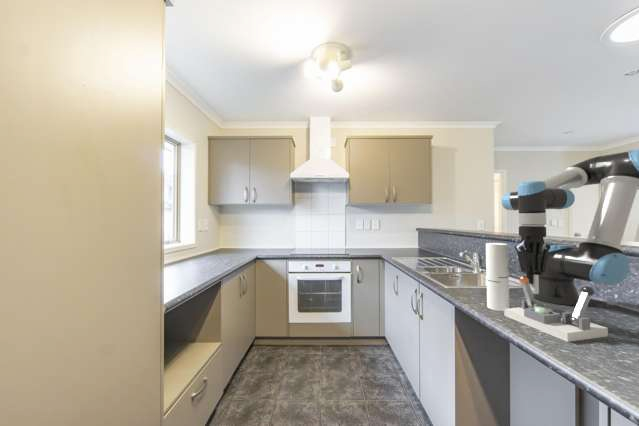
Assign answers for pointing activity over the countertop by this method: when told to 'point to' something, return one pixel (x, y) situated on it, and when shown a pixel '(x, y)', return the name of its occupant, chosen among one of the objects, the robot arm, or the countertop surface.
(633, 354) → the countertop surface
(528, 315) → the panel
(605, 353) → the countertop surface
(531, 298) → the lever
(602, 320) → the countertop surface
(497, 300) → the cylindrical container
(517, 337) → the countertop surface
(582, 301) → the lever
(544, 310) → the button
